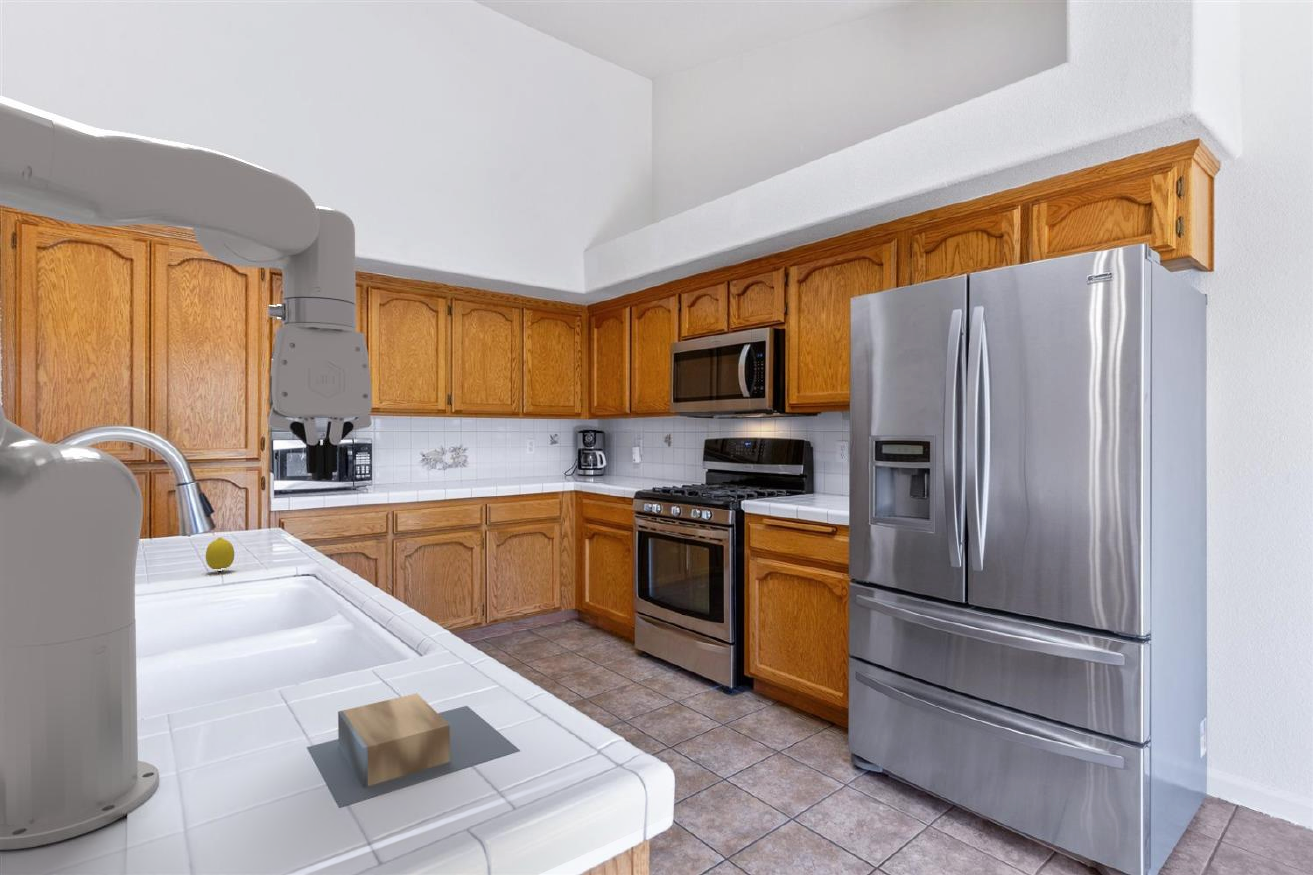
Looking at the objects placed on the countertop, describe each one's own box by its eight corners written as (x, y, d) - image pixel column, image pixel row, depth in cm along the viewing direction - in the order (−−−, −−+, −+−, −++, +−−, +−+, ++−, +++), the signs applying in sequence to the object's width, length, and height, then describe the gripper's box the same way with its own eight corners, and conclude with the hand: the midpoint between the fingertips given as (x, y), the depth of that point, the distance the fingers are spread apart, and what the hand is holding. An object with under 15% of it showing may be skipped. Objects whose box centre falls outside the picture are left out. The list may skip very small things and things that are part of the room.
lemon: (228, 569, 160) (227, 534, 160) (239, 571, 157) (238, 537, 157) (201, 573, 156) (201, 538, 155) (212, 576, 152) (211, 540, 152)
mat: (339, 811, 59) (339, 807, 59) (306, 750, 70) (306, 746, 70) (520, 754, 69) (520, 750, 69) (467, 708, 80) (467, 705, 80)
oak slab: (449, 761, 67) (363, 787, 62) (417, 725, 75) (338, 746, 70) (449, 725, 67) (362, 748, 62) (417, 693, 75) (338, 711, 70)
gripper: (249, 308, 71) (251, 485, 71) (397, 321, 80) (398, 478, 81) (240, 317, 77) (242, 480, 77) (378, 328, 86) (380, 474, 86)
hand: (322, 479), depth 79 cm, fingers closed
